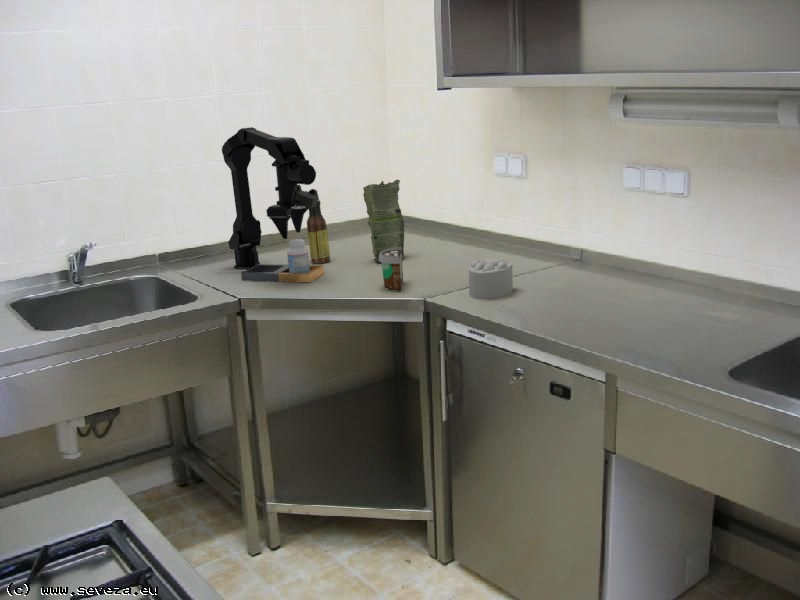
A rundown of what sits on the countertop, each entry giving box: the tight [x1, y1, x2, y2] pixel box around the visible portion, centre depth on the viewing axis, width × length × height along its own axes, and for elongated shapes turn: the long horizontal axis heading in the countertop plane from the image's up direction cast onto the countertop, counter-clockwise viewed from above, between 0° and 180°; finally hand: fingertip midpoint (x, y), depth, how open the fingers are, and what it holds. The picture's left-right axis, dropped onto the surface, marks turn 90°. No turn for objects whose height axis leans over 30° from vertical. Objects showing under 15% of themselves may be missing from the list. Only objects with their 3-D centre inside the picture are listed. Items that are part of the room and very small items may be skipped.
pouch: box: [362, 178, 405, 263], centre depth 265 cm, size 11×12×25 cm
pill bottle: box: [287, 238, 310, 273], centre depth 250 cm, size 6×6×11 cm
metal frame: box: [240, 263, 325, 283], centre depth 253 cm, size 22×11×2 cm, turn 72°
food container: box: [379, 247, 404, 292], centre depth 234 cm, size 12×6×10 cm, turn 177°
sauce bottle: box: [306, 199, 331, 264], centre depth 267 cm, size 7×6×20 cm
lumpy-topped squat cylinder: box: [468, 257, 514, 300], centre depth 223 cm, size 10×13×9 cm
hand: (292, 235), depth 248 cm, fingers open, 9 cm apart
